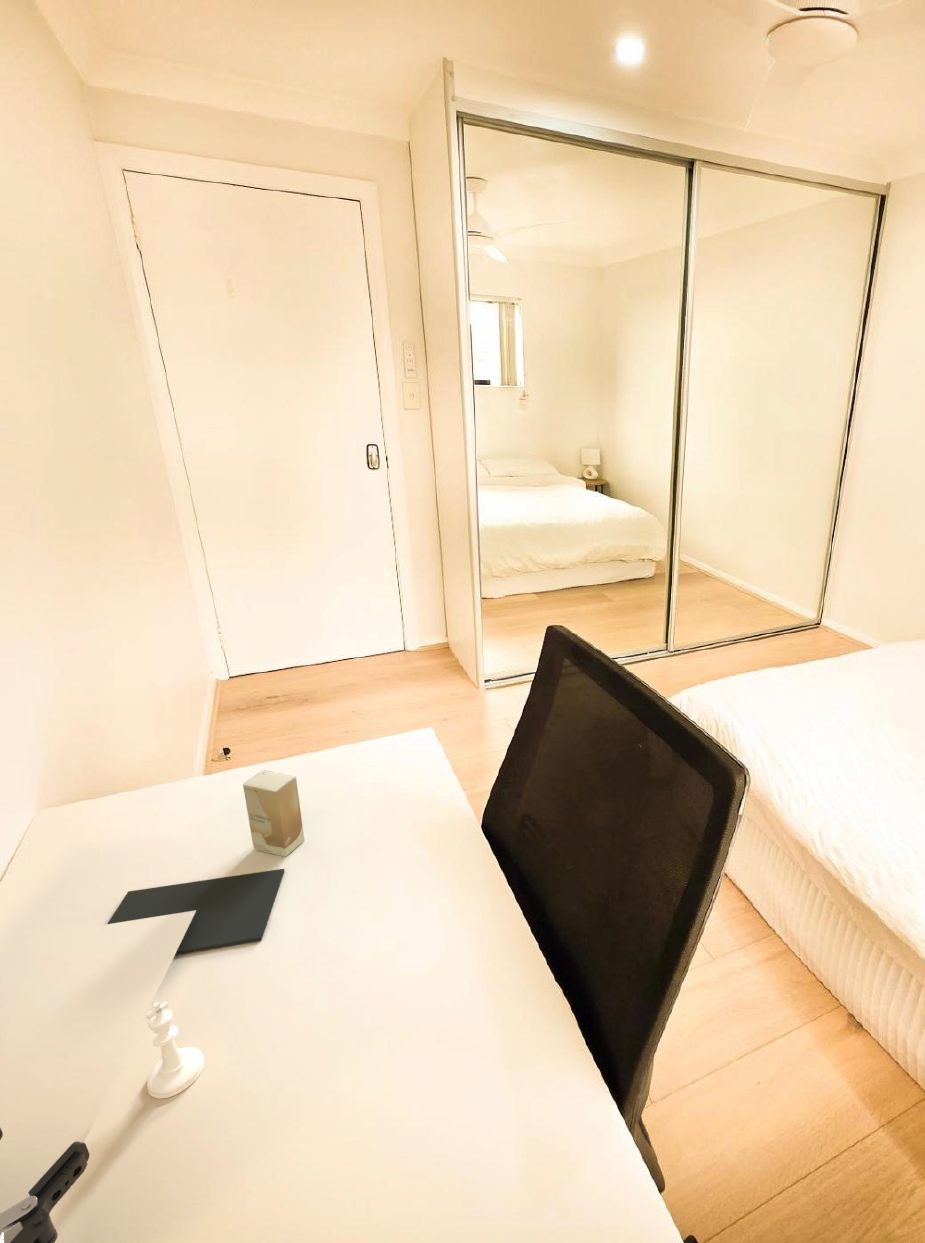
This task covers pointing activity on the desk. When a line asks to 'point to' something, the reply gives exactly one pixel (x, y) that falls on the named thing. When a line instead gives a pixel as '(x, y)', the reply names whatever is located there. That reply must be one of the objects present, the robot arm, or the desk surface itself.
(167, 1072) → the chess piece
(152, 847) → the desk surface
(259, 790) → the cosmetic box
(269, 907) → the mat
